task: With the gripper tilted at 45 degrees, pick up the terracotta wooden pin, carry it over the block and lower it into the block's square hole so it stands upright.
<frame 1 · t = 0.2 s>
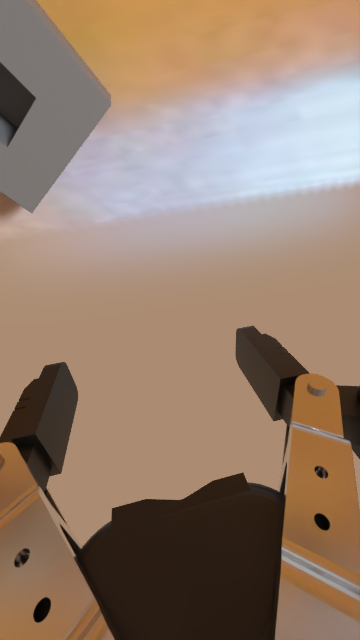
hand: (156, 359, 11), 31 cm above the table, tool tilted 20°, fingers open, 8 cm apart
hole block: (10, 85, 24), on the table
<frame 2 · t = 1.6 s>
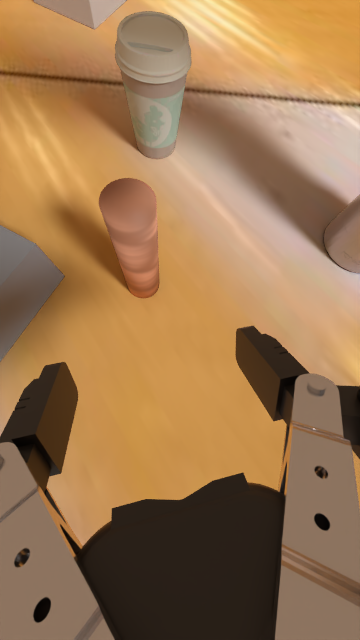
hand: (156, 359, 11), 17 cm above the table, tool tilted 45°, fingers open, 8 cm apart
pin: (143, 283, 30), on the table
coffee cup: (156, 145, 37), on the table
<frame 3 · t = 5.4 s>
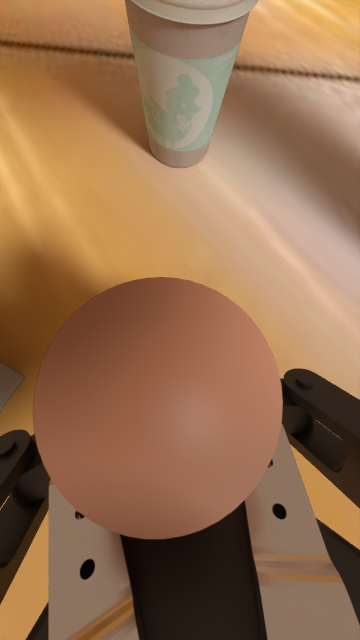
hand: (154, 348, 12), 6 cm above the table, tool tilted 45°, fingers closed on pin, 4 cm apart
pin: (162, 387, 17), on the table, touching gripper
coffee cup: (178, 147, 24), on the table
when the fingers open (9 cm above the table, at t = 11.8 s): pin drops 2 cm, resting on hole block.
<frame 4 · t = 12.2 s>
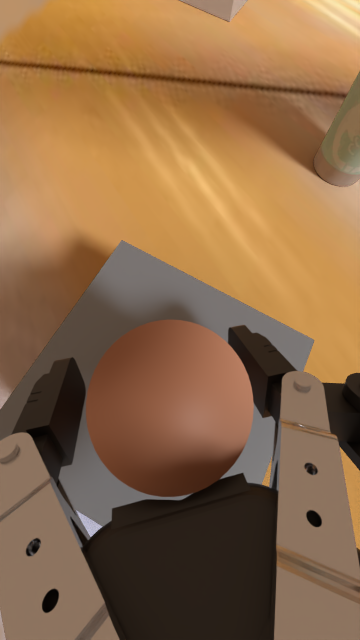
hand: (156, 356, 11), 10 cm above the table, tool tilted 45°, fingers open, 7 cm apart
pin: (164, 388, 19), point 1 cm above the table, touching hole block
coffee cup: (335, 168, 29), on the table
hole block: (162, 387, 20), on the table
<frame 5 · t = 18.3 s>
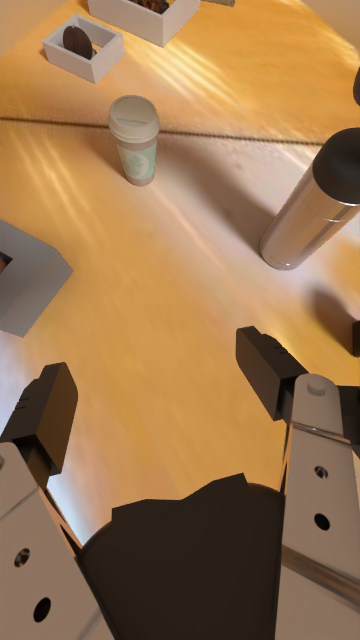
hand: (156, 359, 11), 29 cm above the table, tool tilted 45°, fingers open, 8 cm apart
cactus tray: (146, 11, 65), on the table
pin: (12, 282, 40), point 1 cm above the table, touching hole block
coffee cup: (140, 176, 50), on the table
cactus: (139, 14, 65), resting in cactus tray
dark brown rounded piece: (81, 61, 58), resting in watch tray
hole block: (15, 284, 41), on the table
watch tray: (87, 58, 58), on the table
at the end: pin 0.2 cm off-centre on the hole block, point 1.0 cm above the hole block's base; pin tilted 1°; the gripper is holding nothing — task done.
